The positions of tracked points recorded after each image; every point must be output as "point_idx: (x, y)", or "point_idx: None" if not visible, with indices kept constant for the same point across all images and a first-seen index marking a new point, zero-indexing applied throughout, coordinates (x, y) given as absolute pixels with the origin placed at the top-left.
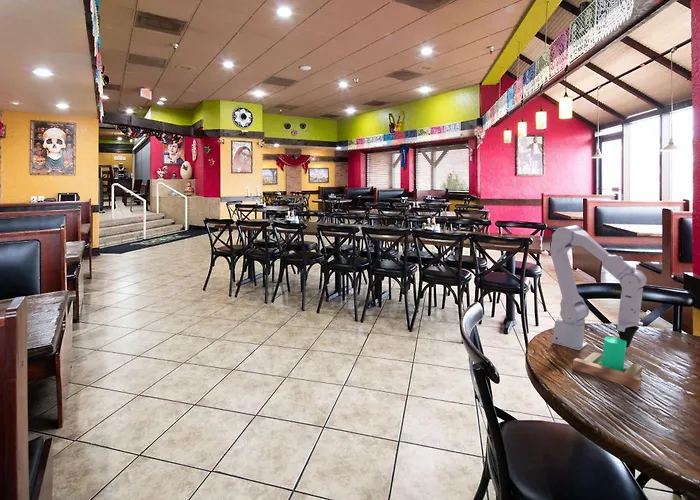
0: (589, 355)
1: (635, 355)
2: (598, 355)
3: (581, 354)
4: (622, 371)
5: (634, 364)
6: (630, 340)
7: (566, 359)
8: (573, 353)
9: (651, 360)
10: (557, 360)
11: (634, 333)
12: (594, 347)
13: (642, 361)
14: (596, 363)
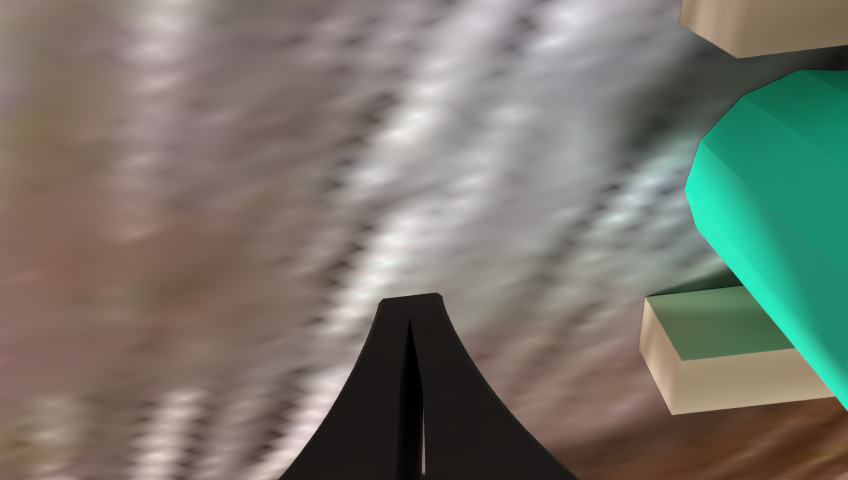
0: (799, 399)
1: (131, 201)
2: (738, 363)
3: (571, 433)
4: (834, 81)
5: (770, 33)
6: (460, 365)
7: (763, 439)
8: (598, 463)
9: (80, 31)
10: (827, 456)
11: (357, 466)
12: None
13: (228, 86)
14: None
